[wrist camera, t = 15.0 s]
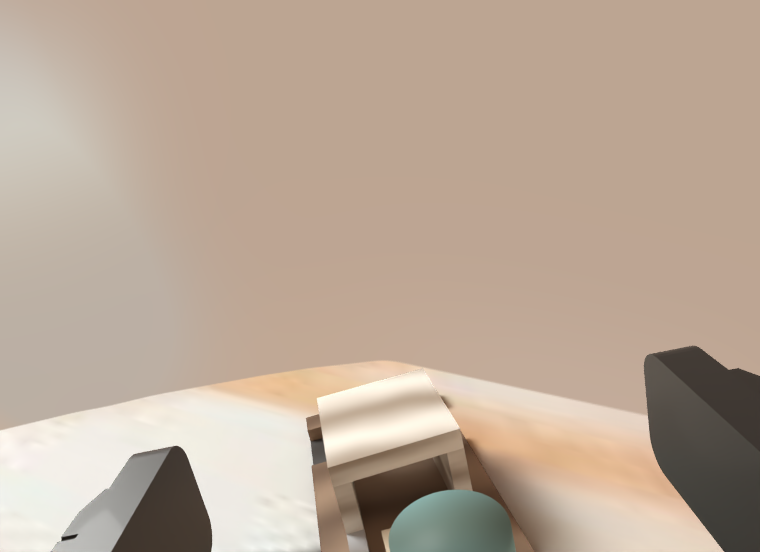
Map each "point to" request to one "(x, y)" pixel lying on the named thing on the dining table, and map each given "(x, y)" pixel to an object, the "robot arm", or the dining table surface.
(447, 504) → the block with teal grip
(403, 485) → the tunnel track
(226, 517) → the dining table surface
